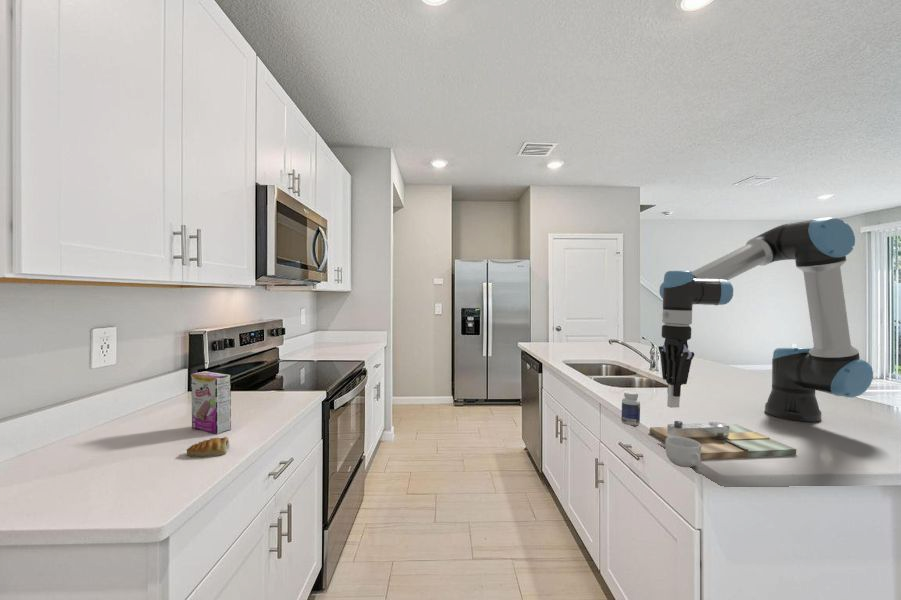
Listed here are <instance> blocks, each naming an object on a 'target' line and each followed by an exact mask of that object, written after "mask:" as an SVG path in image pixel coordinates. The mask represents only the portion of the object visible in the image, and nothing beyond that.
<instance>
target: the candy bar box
mask: <svg viewBox="0 0 901 600" xmlns="http://www.w3.org/2000/svg"><path fill="white" fill-rule="evenodd" d="M190 381H191V382H190V385H191V391H190V392H191V393H190V394H191V429H193V430H197V431H201V432H206V433H211V434H215V435H220V434H223V433H226V432H228V431H231V430H232V408H231V406H232V403H231V402H232V399H231V396H232V395H231V393H232V391H231V384H232V382H231V374H227V373H226V374H225V373H220V372H213V371H212V372H211V371H207V370H206V371H199V372H195V373H194V372H193V373H191V374H190Z"/></svg>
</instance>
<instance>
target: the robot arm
mask: <svg viewBox="0 0 901 600" xmlns="http://www.w3.org/2000/svg"><path fill="white" fill-rule="evenodd" d="M855 245H856V236H855V233H854V231H853V229H852V227H851V226H850V225H849V224H848V223H847V222H846V221H844V220H843V219H841V218H838V217H821V218H820V217H819V218H814V219H808V220H804V221H796V222H788V223H784V224H781V225H778V226H775V227H773V228H772V229H769V230H767V231H764V232H763V233H761V234H759V235H757V236H755V237H753V238H751V239H749V240H747V242H746V244H745V245H743V246H741V247H739V248H737V249H735V250H733V251H731V252H729V253H727V254H725V255H723V256H721V257H718V258H717V259H715V260H713V261H711V262H708V263H707V264H705V265H703V266H701V267H698V268H696V269H695V270H692V271H691V270H668V271H665V273H664V277H663V281H662V283H661V284H660V285H659V295H660V297H661V298H662V315H661V316H662V317H661V318H662V326H661V338H663V339H664V342H663V345H661V346H658V347H657V348H658V352H659V356H660V365H661V373H662V374H661V376H662V380H665V381H666V383H667V390H666V391H667V402H666V403H667V405H666V406H667V407H668V408H677V409H678V408H680V402H681V401H680V400H681V399H680V397H681V392H682V391H681V389H682V385H687V383H688V379H689V374H690V369H691V365H692V360H693V359H694V357H695V353H694V352H693V351H690V349H689V345H688V340H691V339H692V327H691V325H692V323H693V322H692V321H693V305H704V306H705V305H706V306H710V305H711V306H712V305H713V306H719V305H720V306H721V305H722V306H723V305H727V304H728V303H730V302H731V301H732V299H733V297H734V287H733V285H732V283H731V281H729V280H732V279H733V278H735V277H738V276H739V275H741V274H744V273H746V272H748V271H749V270H752V269H753V268H756V267H758V266H760V267H761V266H767V265H769V264H772V263H774V262H778V261H779V262H780V261H787V260H794V261H795V267H796V268H797V269H798V270H801V271H802V272H803V278H804V279H803V280H804V285H805V292H806V293H805V294H806V299H807V300H806V301H807V306H808V307H807V308H808V312H809V313H808V314H809V315H808V316H809V320H810V327H811V333H812V334H811V335H812V341H813V347H778V348H775V350H774V351H773V354H772V361H771V365H772V366H771V368H772V369H771V372H772V373H771V391H770V393H769V396H768V398H767V401H766V402H765V404H764V412H765V413H766V414H768V415H770V416H774V417H777V418H781V419H784V420H785V419H786V420H791V421H798V422H809V423H810V422H813V423H814V422H815V423H816V422H820V421H821V420H822V415H823V414H822V411H821V410H820V407H819V403H818V400H817V396H816V391H817V392H823V393H827V394H829V395H830V394H831V395H834V396H836V397H845V398H856V397H859V396H861V395H863V394H864V393H865V392H866V391H867V390H868V389H869V387H870V386H871V384H872V382H873V377H874V371H873V368H872V365H871V364H870V363H869V362H868V361H866V360H863V359H861V357H860V352H859V349H857V347H854V346H852V343H851V337H850V329H849V323H848V322H849V321H848V315H847V308H846V307H847V306H846V305H847V304H846V299H845V292H844V285H843V278H842V271H841V270H842V269H841V267H842V266H843V265H844V264H845V263H846V262H847V257H846V256H848V255H849V254H851V252H853V250H854V246H855Z"/></svg>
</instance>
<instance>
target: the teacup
mask: <svg viewBox="0 0 901 600" xmlns="http://www.w3.org/2000/svg"><path fill="white" fill-rule="evenodd" d="M664 443H665V444H664V445H665V454H666V458H667V459H668V460H669V461H670V462H671V463H672V464H673V465H675V466H678V467H681V468H693V467H695V466H697V465H700V464H701V462H702V459H701V458H700V455H701V444H700V443H699V442H697V441H695V440H693V439H689V438H685V437H676V436H673V437H667V438H666V441H664Z"/></svg>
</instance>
